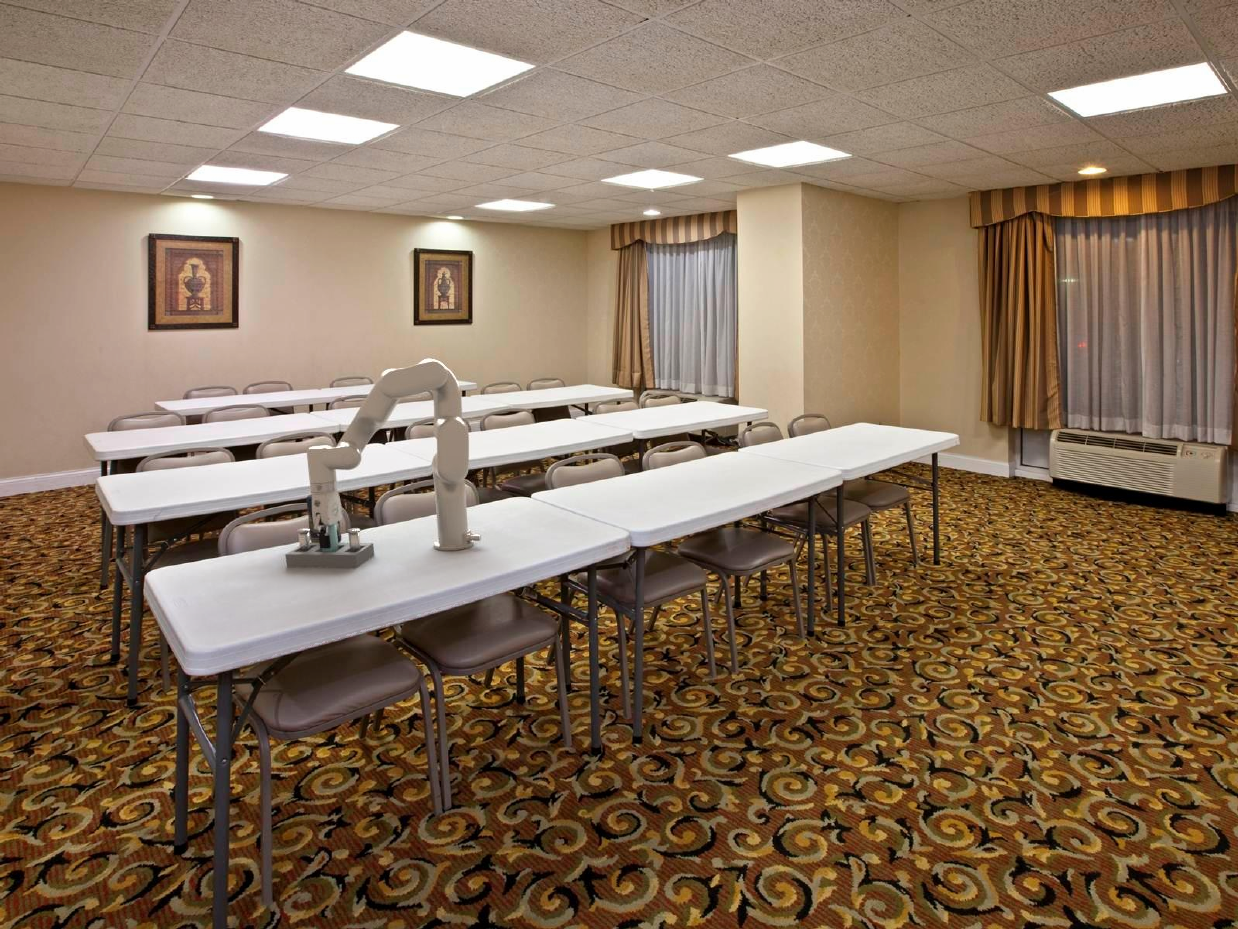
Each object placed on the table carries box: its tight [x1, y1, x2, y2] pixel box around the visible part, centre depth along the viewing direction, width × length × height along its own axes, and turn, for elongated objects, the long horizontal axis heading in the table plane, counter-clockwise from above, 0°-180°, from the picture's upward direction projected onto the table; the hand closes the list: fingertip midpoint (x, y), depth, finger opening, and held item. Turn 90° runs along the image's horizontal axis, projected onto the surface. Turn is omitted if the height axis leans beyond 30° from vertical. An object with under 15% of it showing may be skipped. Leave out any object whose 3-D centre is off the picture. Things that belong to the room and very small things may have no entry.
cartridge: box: [321, 523, 339, 552], centre depth 226 cm, size 5×5×13 cm
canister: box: [305, 493, 343, 543], centre depth 243 cm, size 10×10×18 cm
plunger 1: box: [296, 527, 311, 552], centre depth 227 cm, size 4×4×9 cm
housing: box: [285, 542, 375, 569], centre depth 227 cm, size 22×12×4 cm, turn 84°
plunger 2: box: [346, 527, 361, 552], centre depth 225 cm, size 4×4×9 cm
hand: (329, 544), depth 226 cm, fingers closed on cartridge, 4 cm apart
